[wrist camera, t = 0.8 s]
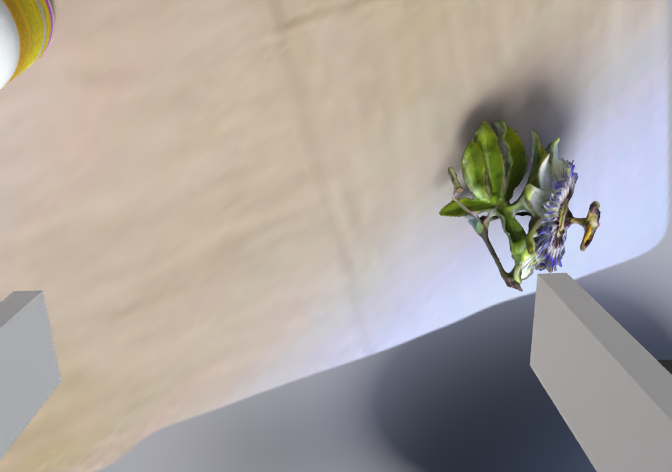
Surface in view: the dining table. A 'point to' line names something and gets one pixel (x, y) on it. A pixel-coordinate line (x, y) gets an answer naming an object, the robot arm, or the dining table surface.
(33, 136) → the dining table surface
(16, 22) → the supplement bottle
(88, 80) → the dining table surface
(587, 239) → the passion flower
